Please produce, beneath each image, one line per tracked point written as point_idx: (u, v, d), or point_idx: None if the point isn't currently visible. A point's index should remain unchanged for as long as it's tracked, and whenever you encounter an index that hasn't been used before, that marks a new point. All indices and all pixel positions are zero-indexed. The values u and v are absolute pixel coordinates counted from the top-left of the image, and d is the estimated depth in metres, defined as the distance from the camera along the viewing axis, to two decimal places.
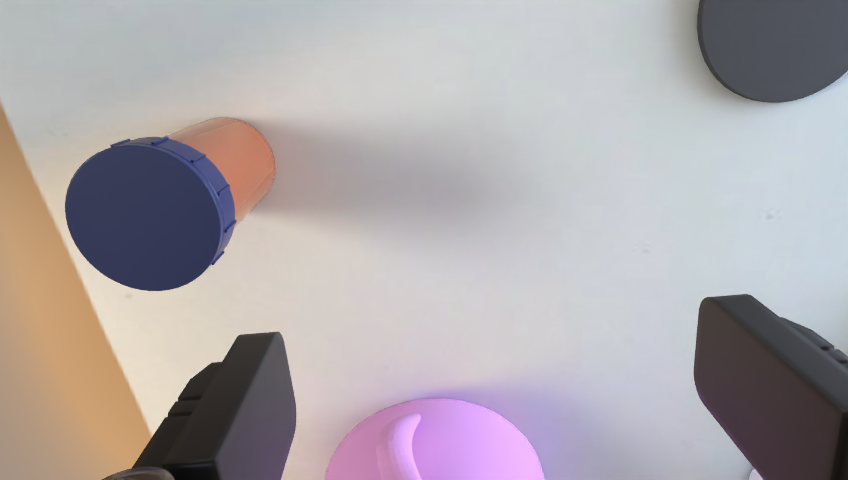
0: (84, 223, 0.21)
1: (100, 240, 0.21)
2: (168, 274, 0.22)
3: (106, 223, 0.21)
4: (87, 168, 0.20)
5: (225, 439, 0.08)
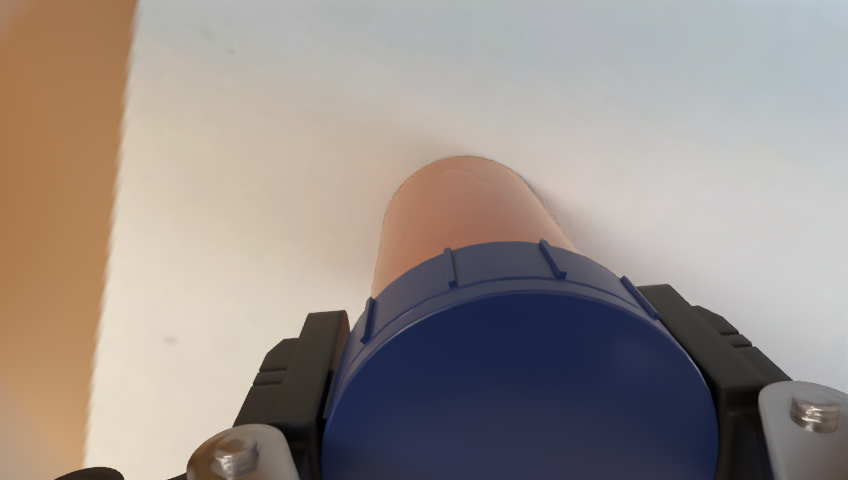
0: (381, 417, 0.08)
1: (389, 463, 0.08)
2: None
3: (433, 438, 0.08)
4: (491, 309, 0.07)
5: None
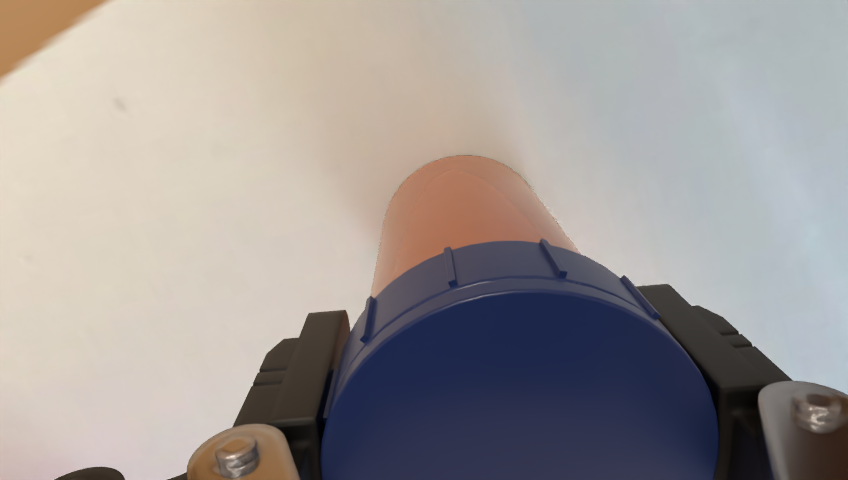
0: (381, 416, 0.08)
1: (389, 462, 0.08)
2: None
3: (433, 437, 0.08)
4: (491, 308, 0.07)
5: None
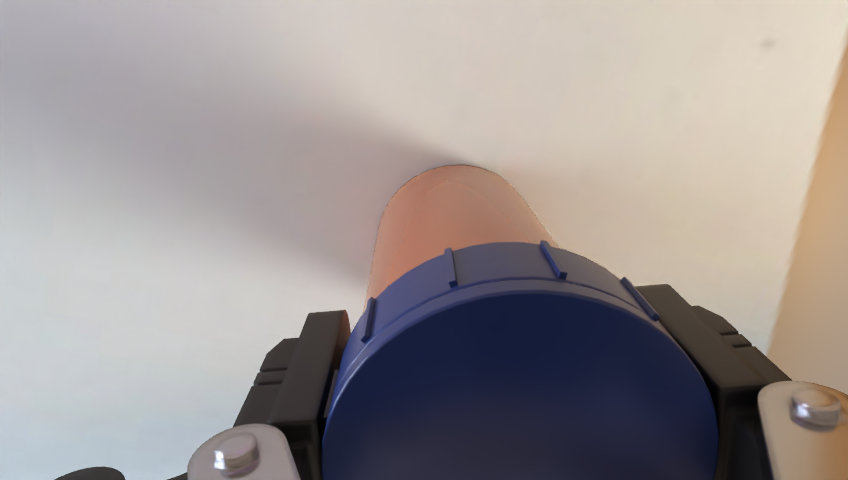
0: (381, 415, 0.08)
1: (389, 462, 0.08)
2: None
3: (434, 438, 0.08)
4: (491, 309, 0.07)
5: None
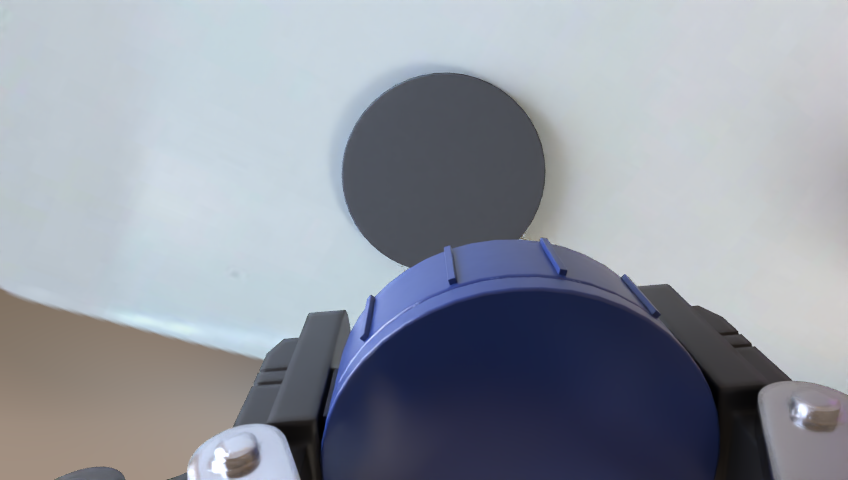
0: (381, 414, 0.08)
1: (389, 461, 0.08)
2: None
3: (433, 436, 0.08)
4: (491, 307, 0.07)
5: None
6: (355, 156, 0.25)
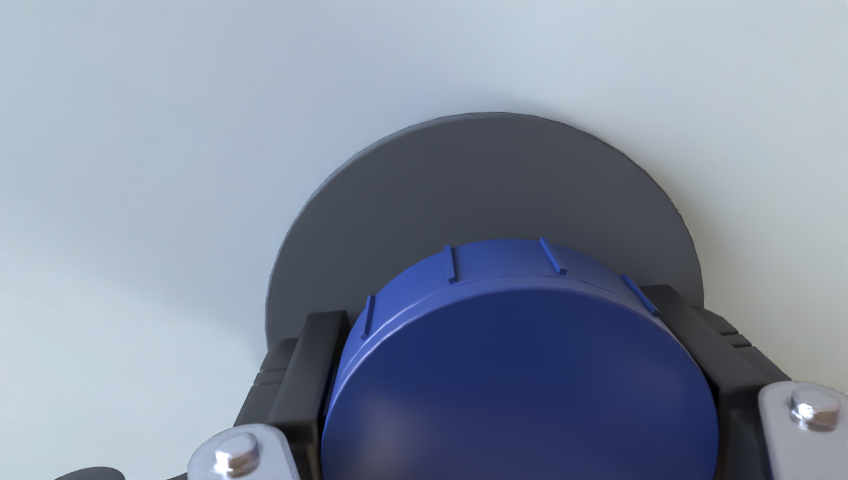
0: (381, 413, 0.08)
1: (389, 460, 0.08)
2: None
3: (433, 435, 0.08)
4: (491, 306, 0.07)
5: None
6: (292, 292, 0.11)
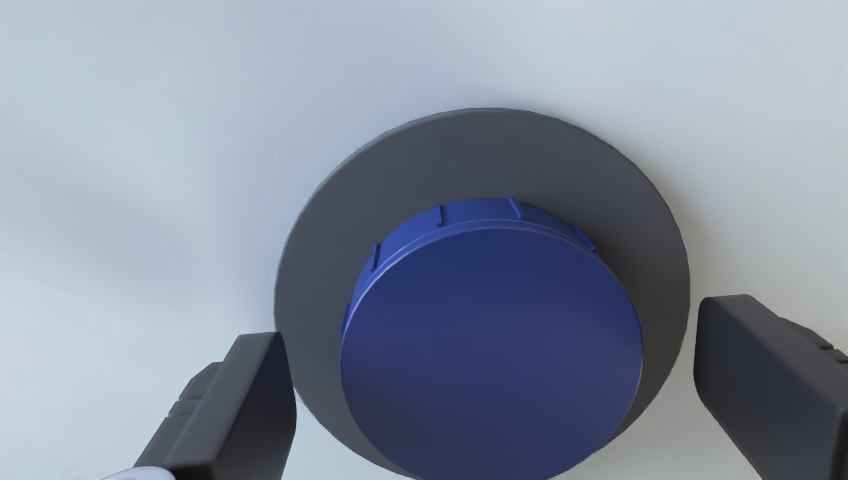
0: (386, 325, 0.10)
1: (392, 364, 0.10)
2: (463, 465, 0.11)
3: (426, 343, 0.10)
4: (468, 241, 0.10)
5: (226, 439, 0.08)
6: (299, 279, 0.12)
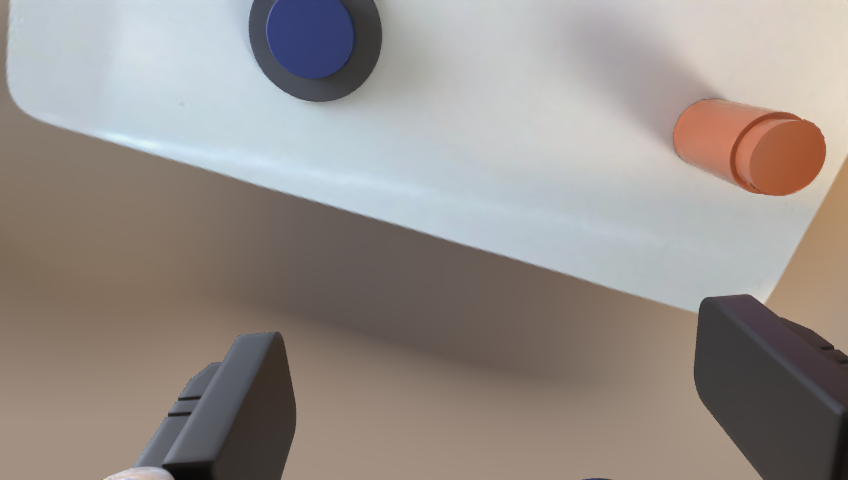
0: (278, 18, 0.36)
1: (281, 31, 0.37)
2: (304, 68, 0.37)
3: (290, 24, 0.37)
4: None
5: (225, 439, 0.08)
6: (256, 17, 0.38)
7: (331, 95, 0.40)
